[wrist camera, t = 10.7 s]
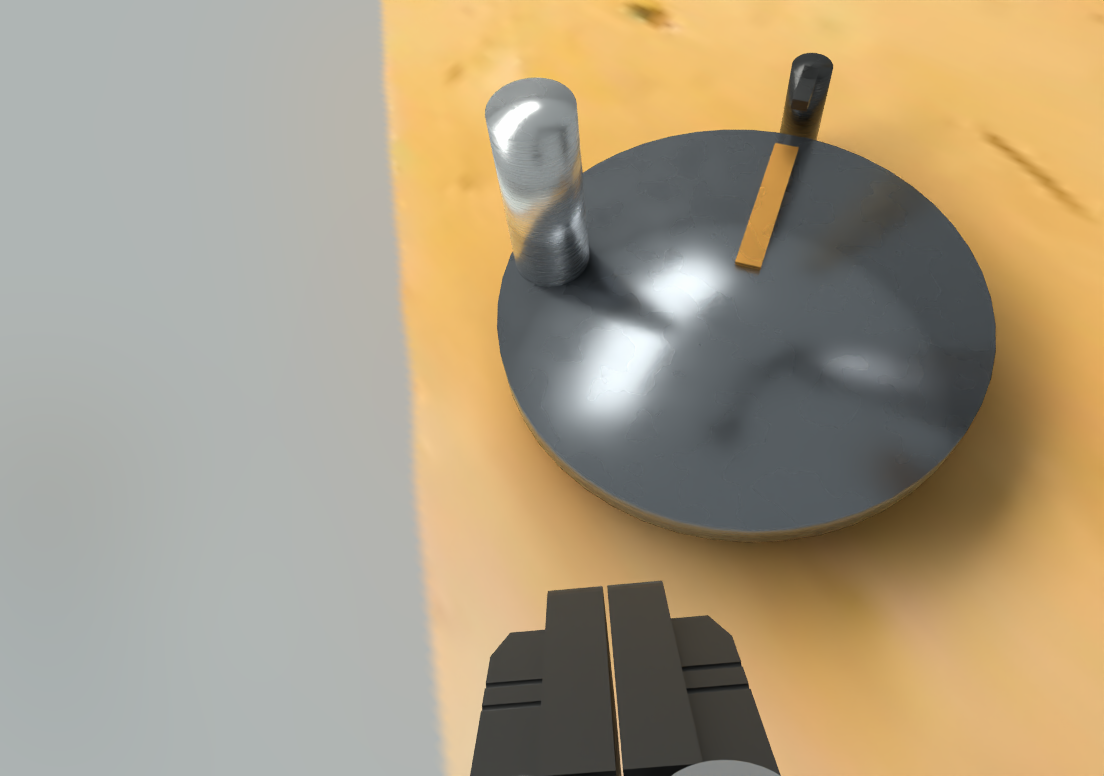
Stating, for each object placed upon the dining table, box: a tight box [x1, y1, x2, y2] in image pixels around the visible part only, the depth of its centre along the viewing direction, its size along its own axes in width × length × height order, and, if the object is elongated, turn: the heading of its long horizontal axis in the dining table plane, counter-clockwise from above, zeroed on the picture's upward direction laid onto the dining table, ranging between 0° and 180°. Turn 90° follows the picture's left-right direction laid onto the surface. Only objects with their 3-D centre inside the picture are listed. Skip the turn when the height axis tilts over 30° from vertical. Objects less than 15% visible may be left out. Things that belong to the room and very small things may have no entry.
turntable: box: [485, 78, 996, 542], centre depth 35 cm, size 22×22×10 cm
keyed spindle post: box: [780, 53, 833, 140], centre depth 41 cm, size 13×19×6 cm, turn 4°
